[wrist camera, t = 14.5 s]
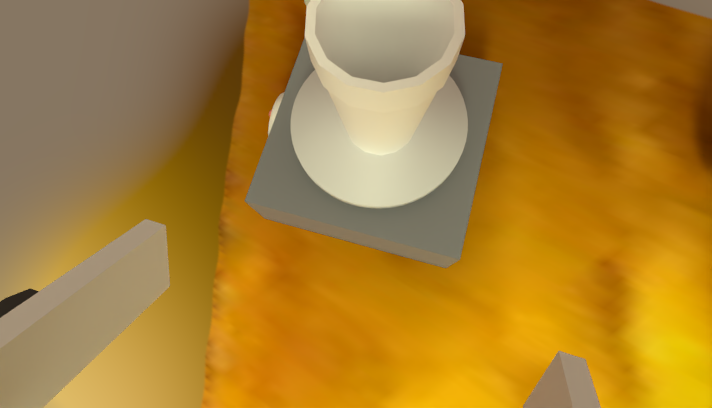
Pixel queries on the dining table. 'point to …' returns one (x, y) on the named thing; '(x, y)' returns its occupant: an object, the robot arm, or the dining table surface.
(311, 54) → the foam cup
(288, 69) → the dining table surface
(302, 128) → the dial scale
